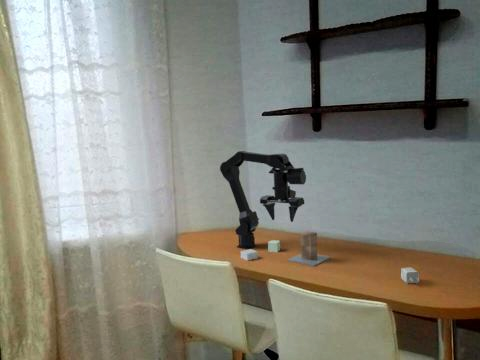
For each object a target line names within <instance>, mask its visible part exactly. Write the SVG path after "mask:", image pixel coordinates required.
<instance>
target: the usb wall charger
mask: <svg viewBox="0 0 480 360" xmlns="http://www.w3.org/2000/svg"><path fill="white" fill-rule="evenodd" d="M400 273H401V275H400V276H401V277H400V278H401V279H402V281H403V282H405V284H407V285H409V284H408V283H416V284H418V283H419V282H420V278H419V277H420V275H419V273H420V272H419V271H417V270H416V269H414V268H413V267H402V268H401V272H400Z"/></svg>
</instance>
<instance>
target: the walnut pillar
mask: <svg viewBox="0 0 480 360" xmlns="http://www.w3.org/2000/svg"><path fill="white" fill-rule="evenodd" d="M300 254H301V259H306V260H313V259H316V258H317V254H318V234H317V232H315V231H304V232H301V233H300Z"/></svg>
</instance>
